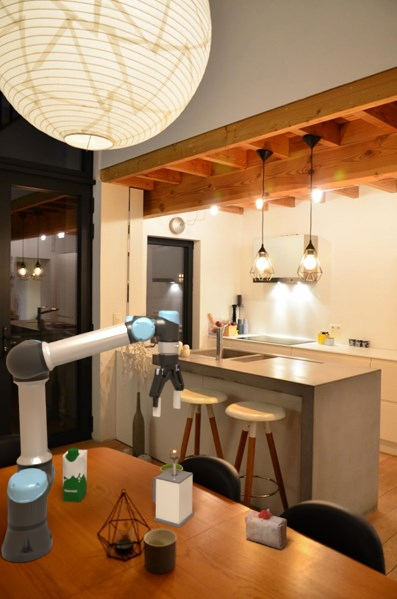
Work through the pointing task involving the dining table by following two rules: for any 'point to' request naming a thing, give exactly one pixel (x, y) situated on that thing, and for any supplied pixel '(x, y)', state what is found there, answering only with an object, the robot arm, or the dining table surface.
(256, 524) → the food item
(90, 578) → the dining table surface
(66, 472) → the milk carton
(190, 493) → the tall white box
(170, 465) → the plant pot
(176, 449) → the plunger
